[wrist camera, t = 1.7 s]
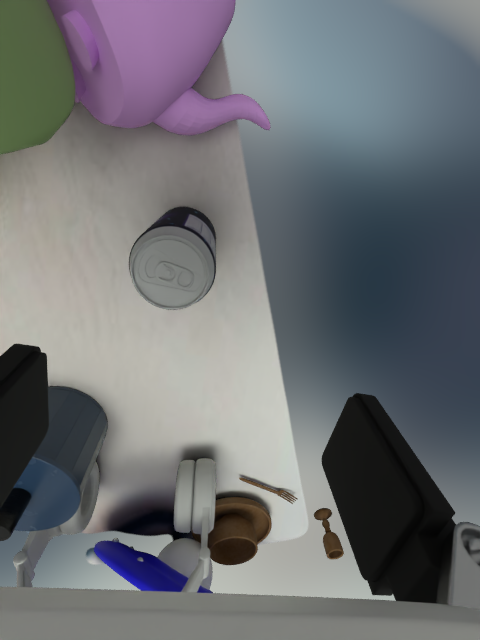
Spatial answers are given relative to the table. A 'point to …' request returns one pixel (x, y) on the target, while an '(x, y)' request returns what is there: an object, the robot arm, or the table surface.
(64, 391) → the pot
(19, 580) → the headphones
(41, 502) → the pot lid
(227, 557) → the place setting
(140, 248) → the beverage can
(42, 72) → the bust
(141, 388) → the table surface
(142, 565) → the toy spaceship
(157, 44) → the teapot
